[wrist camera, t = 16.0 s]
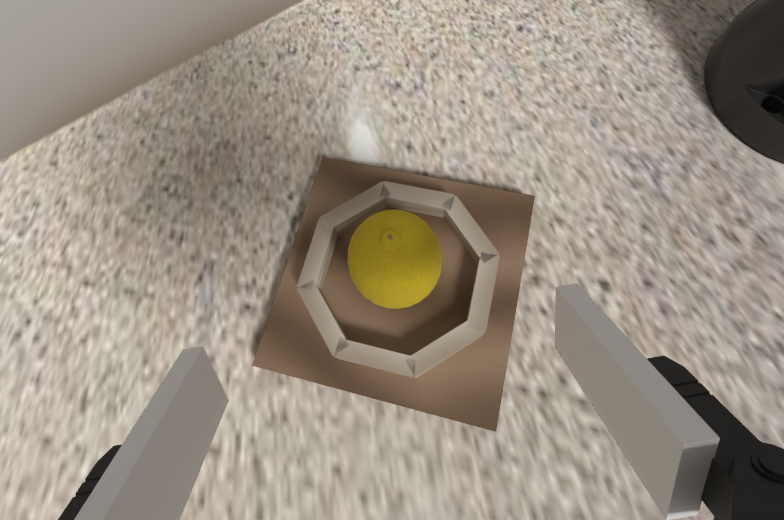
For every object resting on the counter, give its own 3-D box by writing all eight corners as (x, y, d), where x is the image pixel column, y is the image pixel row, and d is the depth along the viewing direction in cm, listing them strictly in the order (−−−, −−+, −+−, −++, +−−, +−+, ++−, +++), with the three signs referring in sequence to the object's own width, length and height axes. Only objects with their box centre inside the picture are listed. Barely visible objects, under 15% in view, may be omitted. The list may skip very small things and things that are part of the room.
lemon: (348, 307, 27) (320, 274, 20) (371, 233, 29) (353, 176, 21) (428, 328, 26) (430, 303, 19) (447, 250, 28) (457, 198, 20)
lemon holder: (326, 165, 32) (317, 145, 30) (530, 203, 30) (540, 185, 27) (259, 366, 28) (242, 364, 25) (492, 429, 25) (500, 434, 23)
